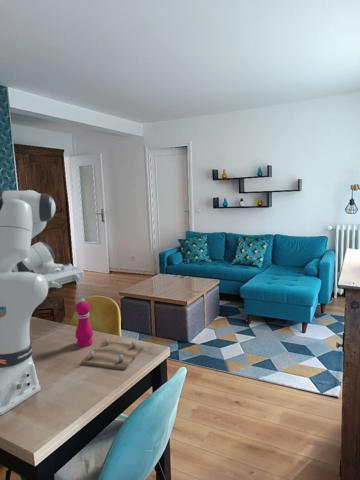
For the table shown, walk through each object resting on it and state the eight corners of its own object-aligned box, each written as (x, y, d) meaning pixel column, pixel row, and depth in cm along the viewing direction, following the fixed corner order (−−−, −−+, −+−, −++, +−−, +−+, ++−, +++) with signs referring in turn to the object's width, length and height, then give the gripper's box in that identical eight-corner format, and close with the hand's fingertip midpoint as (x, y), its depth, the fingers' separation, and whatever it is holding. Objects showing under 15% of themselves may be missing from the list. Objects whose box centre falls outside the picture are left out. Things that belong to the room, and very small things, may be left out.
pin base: (125, 369, 124) (124, 360, 124) (81, 364, 129) (80, 354, 129) (143, 348, 142) (143, 339, 141) (104, 343, 146) (103, 335, 146)
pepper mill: (95, 340, 150) (93, 296, 147) (89, 347, 143) (87, 301, 140) (79, 340, 151) (77, 295, 148) (73, 347, 143) (70, 301, 141)
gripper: (31, 273, 151) (47, 282, 142) (73, 262, 166) (89, 271, 157) (32, 286, 153) (47, 296, 144) (74, 274, 167) (90, 283, 159)
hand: (70, 283), depth 150 cm, fingers open, 8 cm apart
